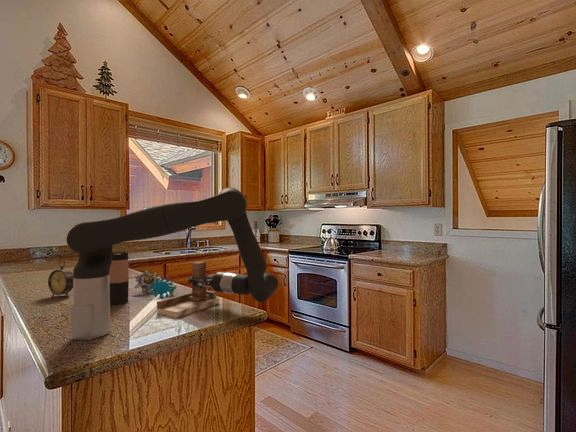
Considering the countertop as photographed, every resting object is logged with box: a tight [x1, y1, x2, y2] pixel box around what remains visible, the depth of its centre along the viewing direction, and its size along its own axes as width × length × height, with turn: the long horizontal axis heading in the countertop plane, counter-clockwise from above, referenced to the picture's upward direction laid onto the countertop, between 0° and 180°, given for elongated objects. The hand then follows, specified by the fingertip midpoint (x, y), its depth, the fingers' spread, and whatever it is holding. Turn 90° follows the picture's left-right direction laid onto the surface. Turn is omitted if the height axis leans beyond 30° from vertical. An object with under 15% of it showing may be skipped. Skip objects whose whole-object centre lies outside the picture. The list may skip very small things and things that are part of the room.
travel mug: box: [110, 251, 130, 306], centre depth 130 cm, size 8×8×20 cm
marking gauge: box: [189, 261, 209, 302], centre depth 124 cm, size 6×6×15 cm
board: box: [156, 289, 220, 319], centre depth 120 cm, size 21×10×4 cm, turn 150°
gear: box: [149, 277, 178, 299], centre depth 140 cm, size 11×6×10 cm
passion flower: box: [134, 269, 161, 295], centre depth 149 cm, size 11×11×12 cm
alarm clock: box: [47, 259, 73, 298], centre depth 141 cm, size 11×5×16 cm, turn 73°
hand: (194, 278), depth 126 cm, fingers open, 5 cm apart
